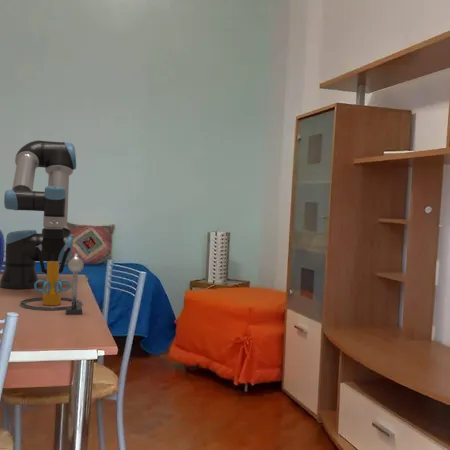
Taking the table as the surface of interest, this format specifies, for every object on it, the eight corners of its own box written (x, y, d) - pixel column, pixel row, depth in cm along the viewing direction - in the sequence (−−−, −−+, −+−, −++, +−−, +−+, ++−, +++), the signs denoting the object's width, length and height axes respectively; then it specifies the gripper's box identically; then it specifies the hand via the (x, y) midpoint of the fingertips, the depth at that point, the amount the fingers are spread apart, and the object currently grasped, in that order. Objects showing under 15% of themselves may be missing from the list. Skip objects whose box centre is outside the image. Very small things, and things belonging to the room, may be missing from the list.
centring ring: (20, 299, 205) (20, 296, 205) (81, 299, 212) (81, 296, 212) (17, 311, 185) (17, 307, 185) (85, 310, 192) (85, 307, 192)
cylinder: (57, 308, 193) (59, 264, 192) (29, 305, 195) (30, 262, 194) (73, 302, 205) (74, 261, 204) (46, 300, 207) (48, 259, 206)
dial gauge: (65, 309, 191) (67, 251, 191) (80, 309, 193) (82, 252, 192) (66, 314, 183) (68, 254, 182) (82, 314, 185) (84, 254, 184)
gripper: (35, 228, 204) (32, 293, 205) (72, 229, 208) (69, 293, 209) (35, 227, 212) (33, 290, 212) (71, 228, 216) (69, 290, 216)
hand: (51, 291), depth 211 cm, fingers closed
